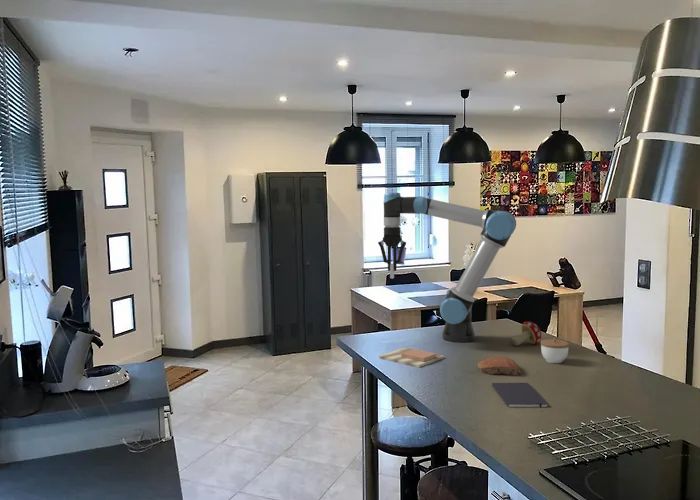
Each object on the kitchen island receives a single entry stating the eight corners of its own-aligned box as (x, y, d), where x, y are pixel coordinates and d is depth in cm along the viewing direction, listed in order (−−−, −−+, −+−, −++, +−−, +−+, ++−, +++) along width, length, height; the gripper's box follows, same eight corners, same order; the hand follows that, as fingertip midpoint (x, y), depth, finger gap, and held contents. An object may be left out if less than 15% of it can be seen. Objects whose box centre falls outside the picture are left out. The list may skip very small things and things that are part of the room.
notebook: (491, 387, 207) (508, 408, 186) (492, 382, 207) (508, 404, 186) (527, 386, 207) (548, 408, 186) (528, 382, 207) (548, 403, 186)
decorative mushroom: (508, 328, 259) (535, 314, 263) (500, 336, 269) (527, 322, 273) (522, 350, 255) (550, 335, 259) (514, 357, 265) (540, 343, 269)
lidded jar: (564, 357, 242) (565, 335, 242) (571, 365, 232) (572, 341, 231) (537, 357, 244) (538, 335, 243) (543, 364, 233) (544, 341, 232)
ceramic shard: (474, 351, 234) (512, 357, 233) (472, 367, 233) (510, 373, 233) (482, 356, 219) (522, 362, 219) (480, 374, 219) (520, 380, 218)
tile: (401, 353, 240) (423, 358, 233) (414, 349, 247) (436, 353, 240) (401, 357, 241) (423, 362, 233) (414, 352, 247) (436, 357, 240)
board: (378, 358, 243) (378, 355, 243) (405, 349, 256) (405, 347, 256) (418, 367, 229) (418, 364, 229) (444, 358, 243) (444, 355, 243)
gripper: (407, 226, 270) (407, 277, 272) (379, 226, 273) (379, 276, 275) (405, 227, 263) (405, 279, 265) (376, 227, 265) (376, 278, 267)
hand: (392, 277), depth 270 cm, fingers closed
